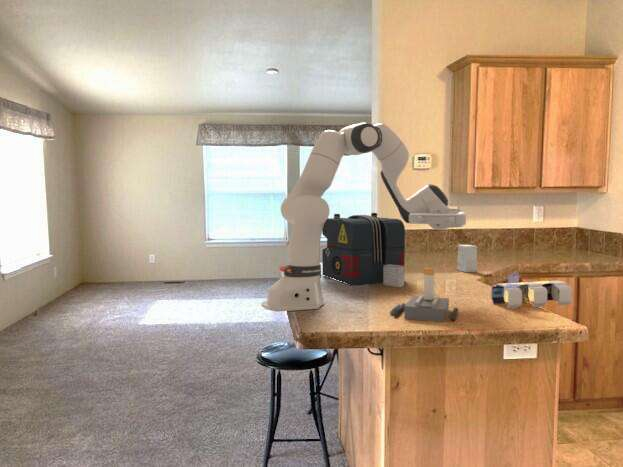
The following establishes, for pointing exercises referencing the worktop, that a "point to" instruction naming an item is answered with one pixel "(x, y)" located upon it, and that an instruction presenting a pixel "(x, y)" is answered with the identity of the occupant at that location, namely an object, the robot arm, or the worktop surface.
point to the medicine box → (393, 275)
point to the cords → (397, 310)
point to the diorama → (531, 292)
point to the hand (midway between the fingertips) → (434, 219)
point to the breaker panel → (427, 308)
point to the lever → (429, 283)
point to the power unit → (362, 247)
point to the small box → (467, 258)
